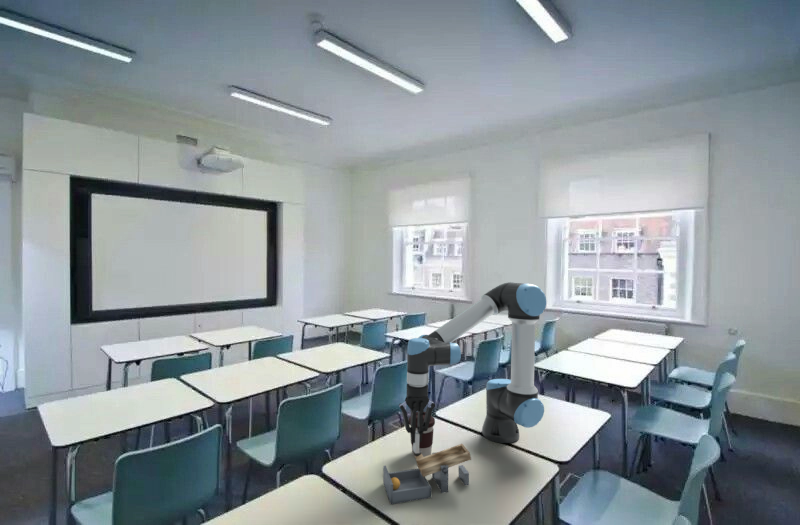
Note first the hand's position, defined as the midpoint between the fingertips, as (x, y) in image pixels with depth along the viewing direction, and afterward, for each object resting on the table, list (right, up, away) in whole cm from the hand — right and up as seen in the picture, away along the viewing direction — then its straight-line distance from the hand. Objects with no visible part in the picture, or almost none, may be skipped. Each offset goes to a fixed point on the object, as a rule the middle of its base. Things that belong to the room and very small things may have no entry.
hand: (416, 451), depth 131 cm
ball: (-7, -5, -11) cm, 14 cm away
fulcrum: (+8, -7, -7) cm, 13 cm away
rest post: (+16, -7, -5) cm, 18 cm away
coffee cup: (+3, -7, +12) cm, 14 cm away
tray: (-3, -7, -11) cm, 13 cm away
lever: (+8, 0, -3) cm, 9 cm away
